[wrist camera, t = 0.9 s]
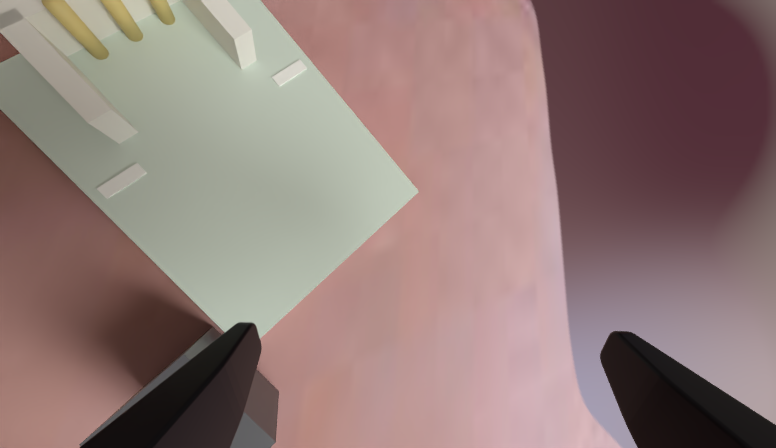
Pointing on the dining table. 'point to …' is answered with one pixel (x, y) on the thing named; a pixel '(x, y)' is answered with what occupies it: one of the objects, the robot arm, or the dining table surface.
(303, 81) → the board
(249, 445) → the plug
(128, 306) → the dining table surface
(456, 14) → the dining table surface
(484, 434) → the dining table surface
